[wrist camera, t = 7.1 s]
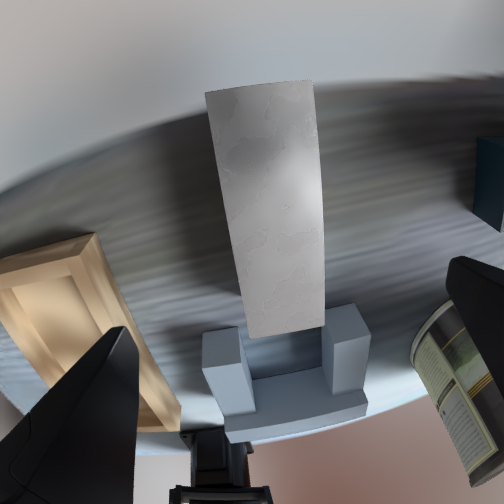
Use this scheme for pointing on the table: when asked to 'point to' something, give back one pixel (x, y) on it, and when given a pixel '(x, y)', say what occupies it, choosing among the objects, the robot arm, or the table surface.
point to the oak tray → (76, 319)
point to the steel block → (272, 201)
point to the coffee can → (461, 392)
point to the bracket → (290, 382)
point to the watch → (490, 181)
